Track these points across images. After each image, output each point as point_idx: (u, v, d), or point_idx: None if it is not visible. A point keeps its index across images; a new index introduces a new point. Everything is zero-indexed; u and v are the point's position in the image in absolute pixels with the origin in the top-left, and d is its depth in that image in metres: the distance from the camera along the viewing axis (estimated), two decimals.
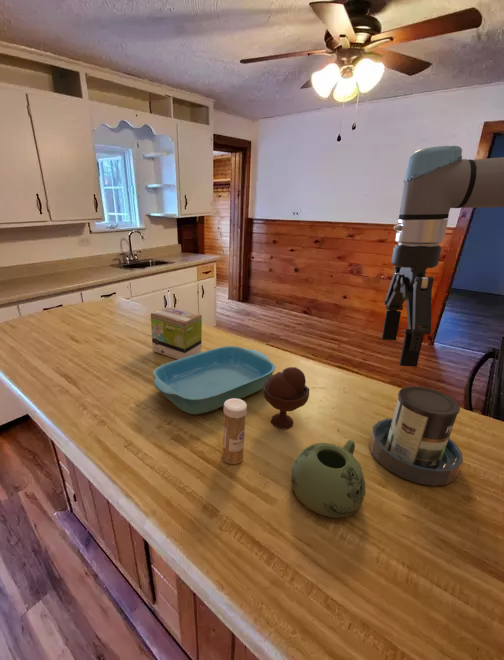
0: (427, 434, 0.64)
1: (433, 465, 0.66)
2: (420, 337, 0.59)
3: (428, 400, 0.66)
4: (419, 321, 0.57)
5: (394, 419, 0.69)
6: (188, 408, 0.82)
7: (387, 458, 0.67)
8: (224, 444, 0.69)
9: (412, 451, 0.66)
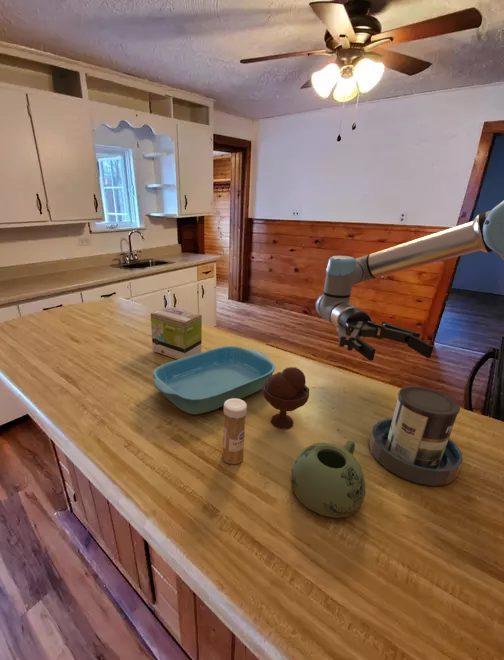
0: (427, 434, 0.64)
1: (433, 465, 0.66)
2: (351, 341, 0.77)
3: (428, 400, 0.66)
4: (339, 340, 0.81)
5: (394, 419, 0.69)
6: (188, 408, 0.82)
7: (387, 458, 0.67)
8: (224, 444, 0.69)
9: (412, 451, 0.66)
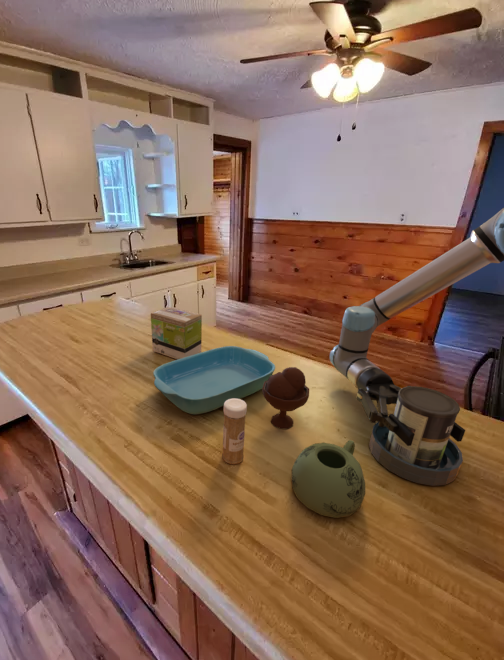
0: (427, 434, 0.64)
1: (433, 465, 0.66)
2: (384, 418, 0.69)
3: (428, 400, 0.66)
4: (368, 414, 0.72)
5: None
6: (188, 408, 0.82)
7: (387, 458, 0.67)
8: (224, 444, 0.69)
9: (412, 451, 0.66)
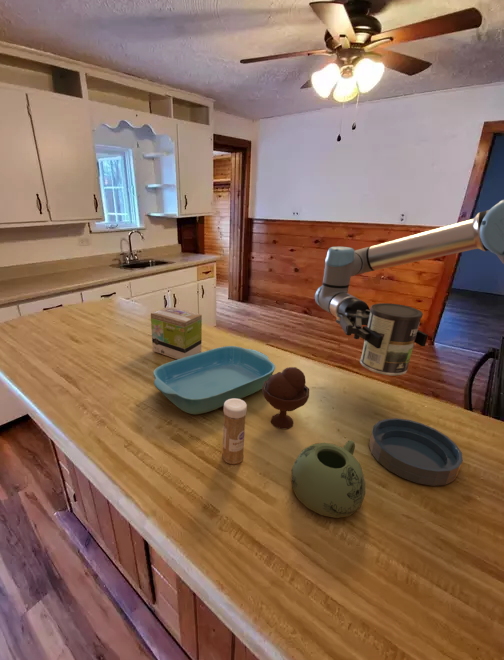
0: (394, 337, 0.72)
1: (400, 367, 0.75)
2: (358, 330, 0.78)
3: (396, 310, 0.75)
4: (345, 329, 0.81)
5: None
6: (188, 408, 0.82)
7: (387, 458, 0.67)
8: (224, 444, 0.69)
9: (382, 356, 0.75)
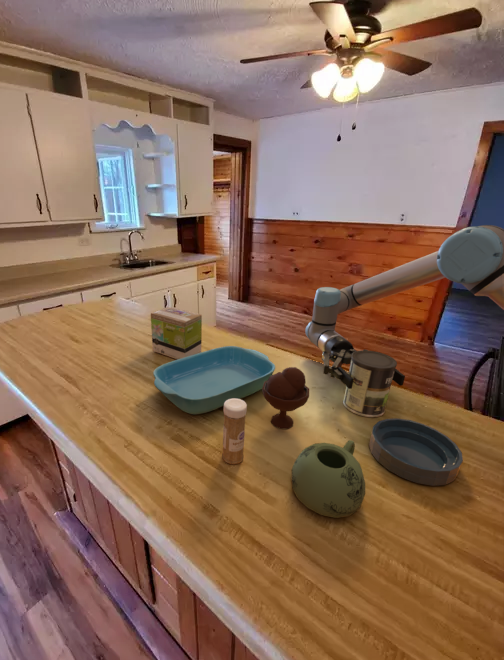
0: (371, 384, 0.81)
1: (377, 410, 0.84)
2: (333, 370, 0.87)
3: (374, 359, 0.84)
4: (323, 368, 0.91)
5: None
6: (188, 408, 0.82)
7: (387, 458, 0.67)
8: (224, 444, 0.69)
9: (361, 400, 0.84)
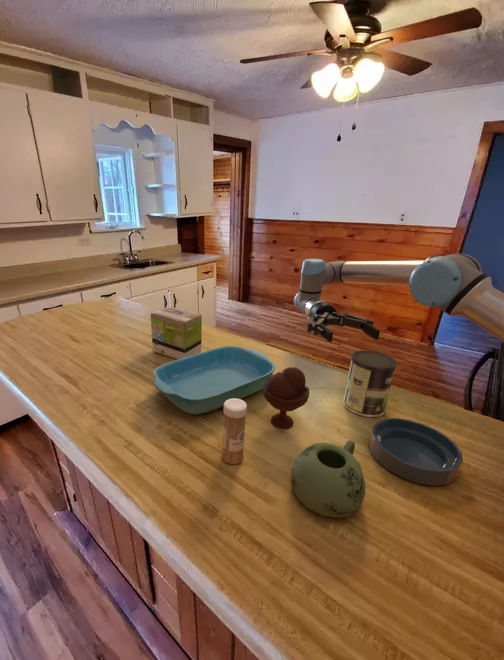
0: (371, 384, 0.81)
1: (377, 410, 0.84)
2: (316, 327, 0.96)
3: (374, 359, 0.84)
4: None
5: (348, 376, 0.87)
6: (188, 408, 0.82)
7: (387, 458, 0.67)
8: (224, 444, 0.69)
9: (361, 400, 0.84)
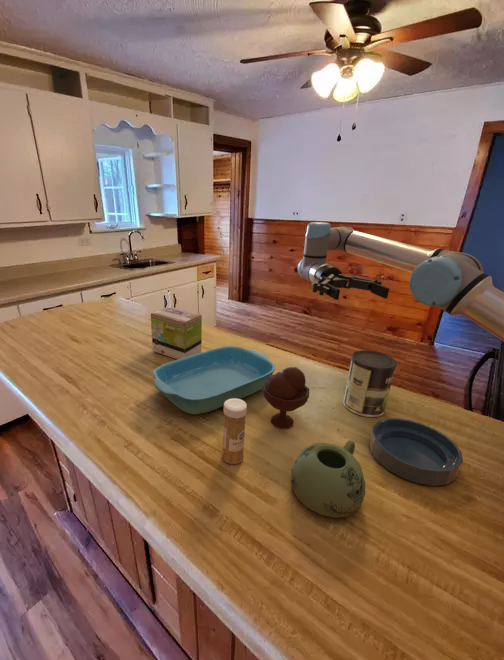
0: (371, 384, 0.81)
1: (377, 410, 0.84)
2: (321, 287, 0.92)
3: (374, 359, 0.84)
4: None
5: (348, 376, 0.87)
6: (188, 408, 0.82)
7: (387, 458, 0.67)
8: (224, 444, 0.69)
9: (361, 400, 0.84)
